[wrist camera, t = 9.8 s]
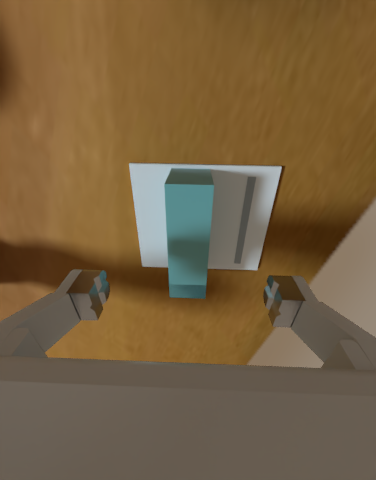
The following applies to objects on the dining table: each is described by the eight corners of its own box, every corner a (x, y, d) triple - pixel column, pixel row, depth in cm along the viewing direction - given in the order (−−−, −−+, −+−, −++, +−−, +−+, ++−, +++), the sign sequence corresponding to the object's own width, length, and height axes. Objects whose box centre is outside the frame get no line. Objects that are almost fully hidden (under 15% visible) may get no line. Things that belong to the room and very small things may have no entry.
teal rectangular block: (171, 168, 15) (164, 183, 12) (210, 168, 15) (214, 185, 12) (174, 265, 20) (169, 297, 16) (203, 266, 20) (205, 298, 16)
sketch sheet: (130, 162, 15) (128, 163, 15) (280, 165, 15) (282, 166, 15) (142, 264, 20) (142, 266, 20) (256, 268, 20) (257, 270, 20)
